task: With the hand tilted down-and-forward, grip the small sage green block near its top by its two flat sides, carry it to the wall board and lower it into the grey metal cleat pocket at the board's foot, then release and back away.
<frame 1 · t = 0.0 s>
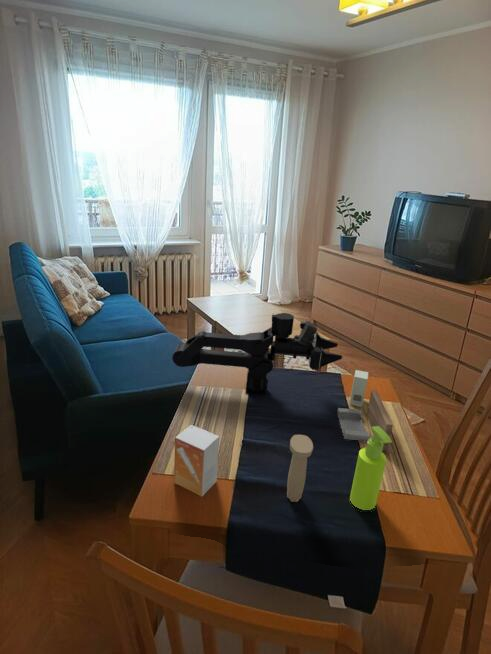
hand: (339, 350, 139), 17 cm above the table, tool horizontal, fingers open, 9 cm apart
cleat: (352, 427, 130), on the table
soap dispenser: (363, 504, 101), on the table
small box: (195, 483, 103), on the table
handle: (293, 498, 101), on the table
wall board: (375, 433, 128), on the table
sage green block: (356, 401, 143), on the table
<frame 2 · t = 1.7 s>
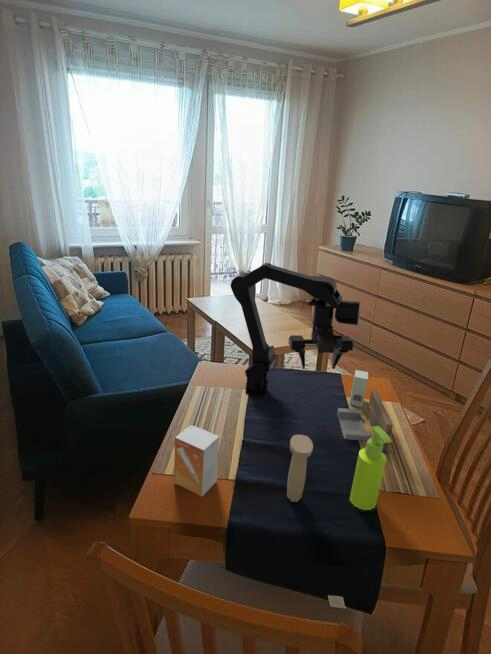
hand: (318, 368, 135), 13 cm above the table, tool pointing down, fingers open, 9 cm apart
nothing on the table moved.
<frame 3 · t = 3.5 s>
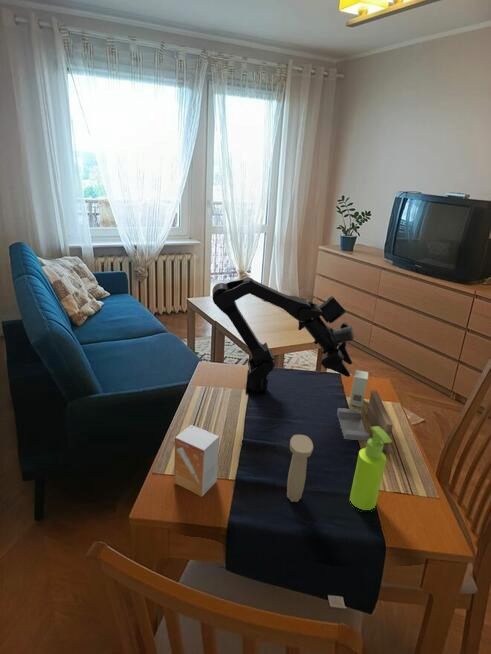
hand: (350, 369, 140), 11 cm above the table, tool tilted 45°, fingers open, 9 cm apart
nothing on the table moved.
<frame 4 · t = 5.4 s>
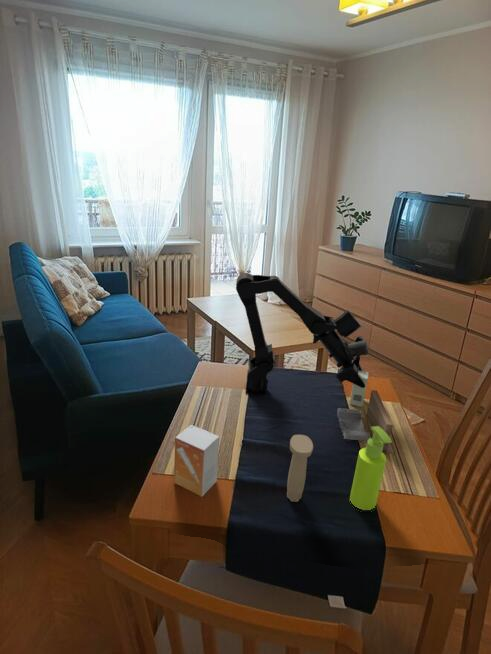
hand: (364, 383, 141), 7 cm above the table, tool tilted 45°, fingers closed on sage green block, 5 cm apart
sage green block: (356, 401, 143), on the table, touching gripper
everything else where it was.
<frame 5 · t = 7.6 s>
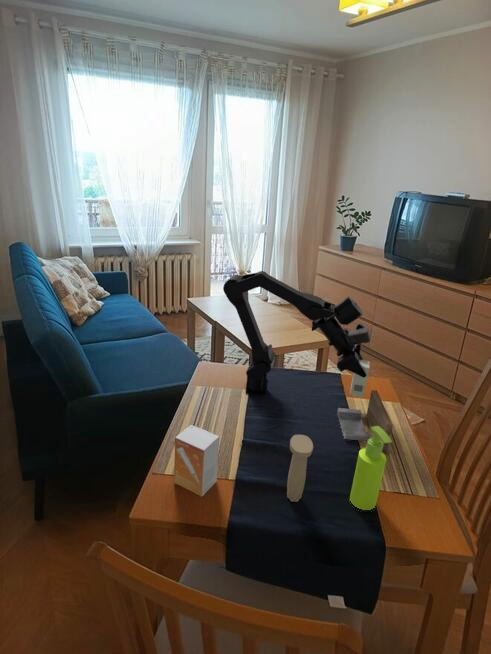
hand: (365, 372, 134), 13 cm above the table, tool tilted 45°, fingers closed on sage green block, 5 cm apart
sage green block: (356, 392, 137), point 6 cm above the table, touching gripper
everything else where it was.
when the fingers open (9 cm above the table, at t = 10.2 s): sage green block drops 1 cm, resting on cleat.
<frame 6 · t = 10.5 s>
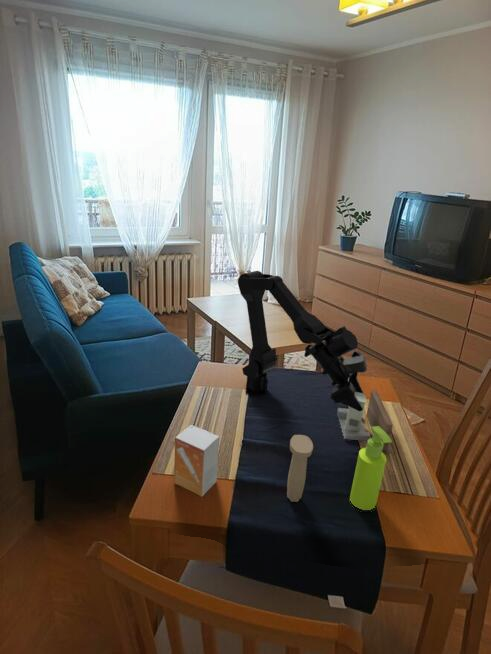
hand: (362, 403, 126), 9 cm above the table, tool tilted 45°, fingers open, 8 cm apart
sage green block: (352, 426, 130), resting on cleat
everything else where it was.
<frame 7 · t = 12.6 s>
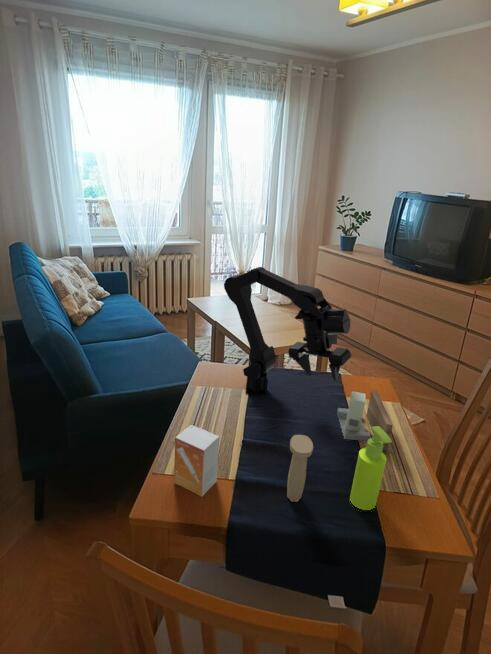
hand: (322, 377, 134), 11 cm above the table, tool tilted 15°, fingers open, 9 cm apart
nothing on the table moved.
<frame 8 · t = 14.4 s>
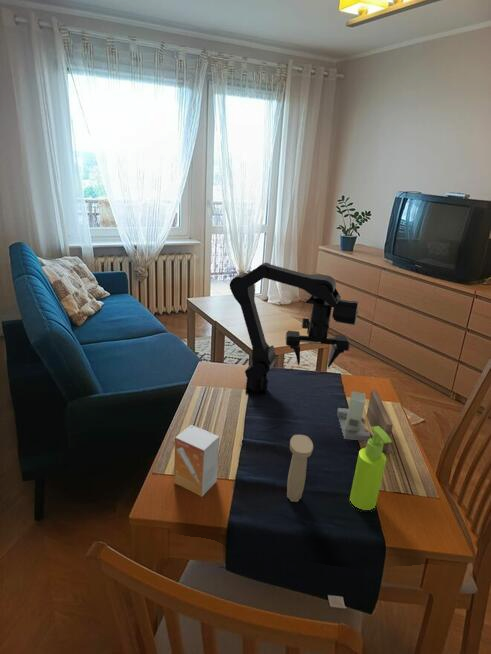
hand: (313, 365, 136), 13 cm above the table, tool pointing down, fingers open, 9 cm apart
nothing on the table moved.
at the end: sage green block inside the target area (0.2 cm from its centre), resting on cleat; sage green block tilted 0°; the gripper is holding nothing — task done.
